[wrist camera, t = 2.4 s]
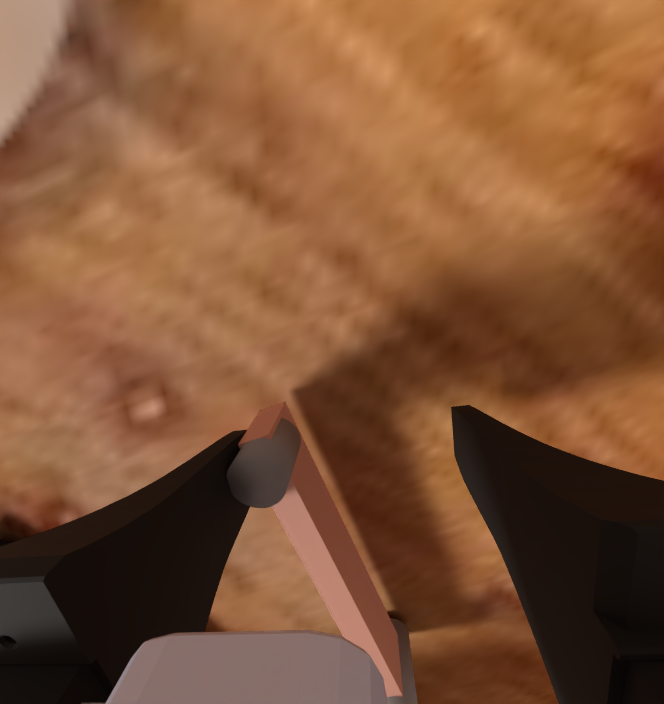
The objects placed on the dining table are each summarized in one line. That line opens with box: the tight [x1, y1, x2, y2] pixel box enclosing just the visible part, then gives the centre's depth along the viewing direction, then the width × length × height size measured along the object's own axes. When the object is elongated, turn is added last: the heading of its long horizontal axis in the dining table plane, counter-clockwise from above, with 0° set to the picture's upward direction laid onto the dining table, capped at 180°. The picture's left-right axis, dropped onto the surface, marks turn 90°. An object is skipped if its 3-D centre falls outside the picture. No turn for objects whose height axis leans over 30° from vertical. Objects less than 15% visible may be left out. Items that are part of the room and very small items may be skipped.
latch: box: [226, 402, 418, 704], centre depth 14 cm, size 16×2×4 cm, turn 22°
